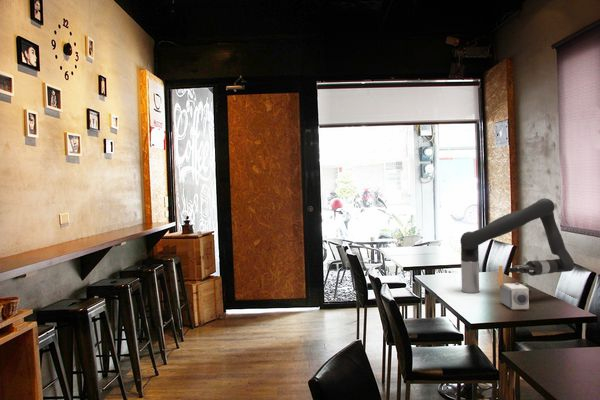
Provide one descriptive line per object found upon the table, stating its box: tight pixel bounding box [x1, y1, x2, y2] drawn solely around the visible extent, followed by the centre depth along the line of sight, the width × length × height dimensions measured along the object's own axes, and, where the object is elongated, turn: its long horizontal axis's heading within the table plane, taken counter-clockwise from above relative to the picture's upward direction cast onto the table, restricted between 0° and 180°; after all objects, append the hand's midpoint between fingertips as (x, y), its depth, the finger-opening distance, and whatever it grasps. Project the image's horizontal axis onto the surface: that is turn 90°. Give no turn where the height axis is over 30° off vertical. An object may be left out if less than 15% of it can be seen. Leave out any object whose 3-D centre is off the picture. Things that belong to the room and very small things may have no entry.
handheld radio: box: [520, 282, 532, 293], centre depth 262 cm, size 7×3×25 cm
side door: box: [498, 265, 512, 309], centre depth 245 cm, size 13×1×18 cm, turn 177°
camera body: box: [503, 281, 530, 310], centre depth 244 cm, size 14×8×11 cm, turn 177°
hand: (509, 270), depth 251 cm, fingers closed
